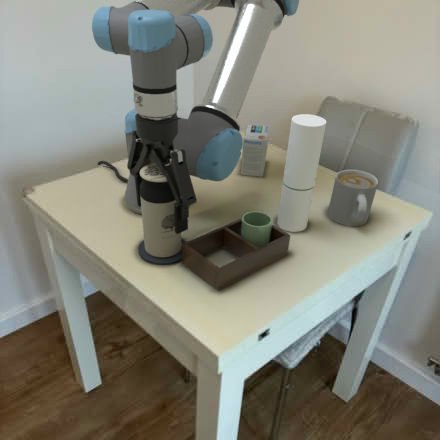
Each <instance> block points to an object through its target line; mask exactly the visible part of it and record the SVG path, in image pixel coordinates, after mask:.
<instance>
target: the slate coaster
mask: <svg viewBox="0 0 440 440" xmlns="http://www.w3.org/2000/svg"><path fill="white" fill-rule="evenodd" d="M185 242H187V241H186V240H185V239H184V238H182V237H181V250H180V251H179V252H178V253H177V254H175V255H173V256H169V257H155V256H152V255H150V254H148V253H147V252H146V250H145V244H144V239H143V240H142V241H141V242H140V243H139V245H138V247H137V253H138V255H139V257H140V259H142V260H143V261H144V262H146V263H148V264H152V265H157V266H168V265H169V266H170V265H174V264H176V263H177V264H178V263H179V262H181V261H182V244H183V243H185Z"/></svg>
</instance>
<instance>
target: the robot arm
mask: <svg viewBox="0 0 440 440" xmlns="http://www.w3.org/2000/svg"><path fill="white" fill-rule="evenodd" d="M299 5H300V0H134V1H132V2H129V3H128V4H126V5H124V6H121V7H115V5H114V6H113V5H111V6H100V7H98V9H97V10H96V11H95V12H94V14H93V16H92V21H91V31H92V36H93V39H94V42H95V45H97V46H98V48H99V49H100V50H103V51H106V52H110V53H113V54H114V55H122V56H123V55H124V56H128V57H129V59H130V67H131V74H132V75H131V77H132V89H133V100H132V101H133V103H134V108H132V109H131V110H129V111H128V112H127V113H126V114H125V117H124V134H125V143H126V151H127V164H126V167H127V170H128V171H129V175H128V178H126V177H124V176H122V175H121V174H120V173H119V170H118V168H117V167H115V165H113V164H111V163H110V162H109V161H105V160H99V161H98V162H97V163H96V164H97V166H101V165H105V166H107V167H108V168H110V169H112V170H113V171H114V174H115V176H116V177H117V178H118V179H119V180H121V181H123V182H125V183H126V189H125V192H124V202H125V206H126V208H128V210H129V211H131V212H132V213H133V212H134V213H135V214H138V215H142V209H141V198H140V185H141V183H142V181H143V180H142V177H141V176H140V170H141V169H142V168H143V167H145V166H147V165H150V164H156V165H157V166H159V168H160V170H161V172H163V173H164V174H165V176H166V179H167V181H168V183H169V186H170V188H171V190H172V193H173V195H174V197H175V199H176V203H174V219H175V233H176V234H179V233H181V234H182V233H183V232H186V231H189V218H190V206H191V205H194V204H196V203H197V201H198V199H197V195H196V192H195V189H194V188H195V187H194V185H193V182H192V178H191V176H192V177H195V178H198V179H200V180H203V181H211V182H221V181H223V180H225V179H227V178H229V176H230V175H231V174H232V173H233V172H234V170H235V169H236V167H237V165H238V163H239V162H240V158H241V156H242V150H243V139H244V138H243V136H242V133H241V126H240V124H239V122H238V118H239V115H240V112H241V109H242V108H243V105H244V102H245V99H246V97H247V95H248V92H249V90H250V86H251V84H252V82H253V79H254V76H255V74H256V72H257V69H258V67H259V63H260V61H261V58H262V56H263V53H264V50H265V49H266V45H267V43H268V41H269V38H270V35H271V33H272V31H275V30H277V29H278V28H280V26H281V25H282V22H283V21H284V18H285V16H287V17H291V16H294V15H295V14H296V13H297V11H298V8H299ZM217 7H219V8H230V9H234V10H235V12H236V16H235V18H234V21H233V23H232V26H231V29H230V31H229V32H228V33H229V34H228V36H227V38H226V41H225V44H224V46H223V49H222V51H221V53H220V55H219V56H220V57H219V59H218V62H217V64H216V66H215V69H214V72H213V74H212V77H211V79H210V81H209V84H208V87H207V89H206V91H205V94H204V96H203V98H202V101H201V103H199V104H196V105H193V107H192V108H191V111H190V113H189V115H188V118H183V117H179V116H178V109H179V107H178V106H179V105H178V104H179V103H178V87H177V85H178V84H177V71H178V70H180V69H182V68H185V67H187V66H189V65H192V64H195V63H198V62H200V61H201V60H202V59H204V58H205V57H206V56H208V54H209V53H210V51H211V50H212V47H213V43H214V37H213V35H214V34H213V30H212V27H211V24H210V23H209V22H208V21H207V19H205V17H204V16H202V15H200V14H198V13H199V12H201V11H211V10H213V9H215V8H217ZM167 164H169V165H167ZM165 165H167V166H165Z"/></svg>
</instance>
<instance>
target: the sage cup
mask: <svg viewBox="0 0 440 440" xmlns="http://www.w3.org/2000/svg"><path fill="white" fill-rule="evenodd" d="M241 218H242V221H241V233H240V236H241V237H242V238H244V239H246V240H247V241H249V242H250V243H252V244H253V245H255V246H256V247H258V248H260V247H262V246H264V245H266V244H268V243H270V236H271V228H272V225H273V218H272V216H271V215H270V214H268V213H266V212H264V211H258V210H254V211H253V210H252V211H247V212H245V213H244V214H243V215H242V216H241Z"/></svg>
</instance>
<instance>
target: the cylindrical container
mask: <svg viewBox="0 0 440 440" xmlns="http://www.w3.org/2000/svg"><path fill="white" fill-rule="evenodd" d="M290 121H291V122H290V129H289V135H288V143H287V151H286V158H285V164H284V171H283V179H282V185H281V186H282V187H281V194H280V200H279V207H278V208H279V209H278V216H277V226H278V228H279V229H281V230H283V231H285V232H286V231H287V232H292V233H299V232H302V231H305V230H306V229H307V227H308V221H309V216H310V211H311V206H312V200H313V196H314V190H315V184H316V181H317V180H316V178H317V174H318V169H319V163H320V158H321V152H322V149H323V142H324V136H325V132H326V131H325V130H326V126H327V120H326V118H324V117H321V116H320V115H315V114H311V113H310V114H309V113H301V114H295V115H293V116H292V117H291V120H290Z"/></svg>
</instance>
